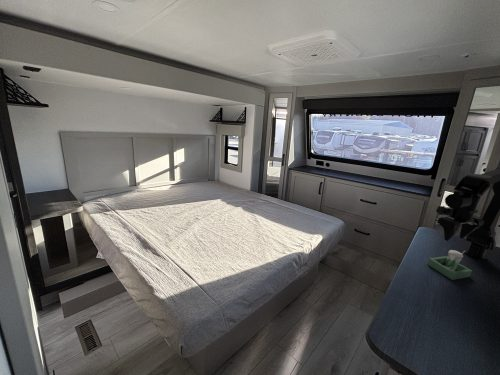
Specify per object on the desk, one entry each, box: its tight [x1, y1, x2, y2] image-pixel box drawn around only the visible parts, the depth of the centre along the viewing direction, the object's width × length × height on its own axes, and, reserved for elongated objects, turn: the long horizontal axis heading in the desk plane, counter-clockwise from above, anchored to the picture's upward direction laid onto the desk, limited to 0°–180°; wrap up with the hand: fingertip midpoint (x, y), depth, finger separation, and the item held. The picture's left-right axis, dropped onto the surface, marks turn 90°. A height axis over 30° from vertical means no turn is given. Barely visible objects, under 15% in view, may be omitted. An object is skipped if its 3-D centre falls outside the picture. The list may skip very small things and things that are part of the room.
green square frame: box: [426, 255, 473, 281], centre depth 93 cm, size 10×10×3 cm
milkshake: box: [444, 249, 466, 272], centre depth 92 cm, size 4×5×10 cm
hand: (453, 239), depth 95 cm, fingers open, 9 cm apart
